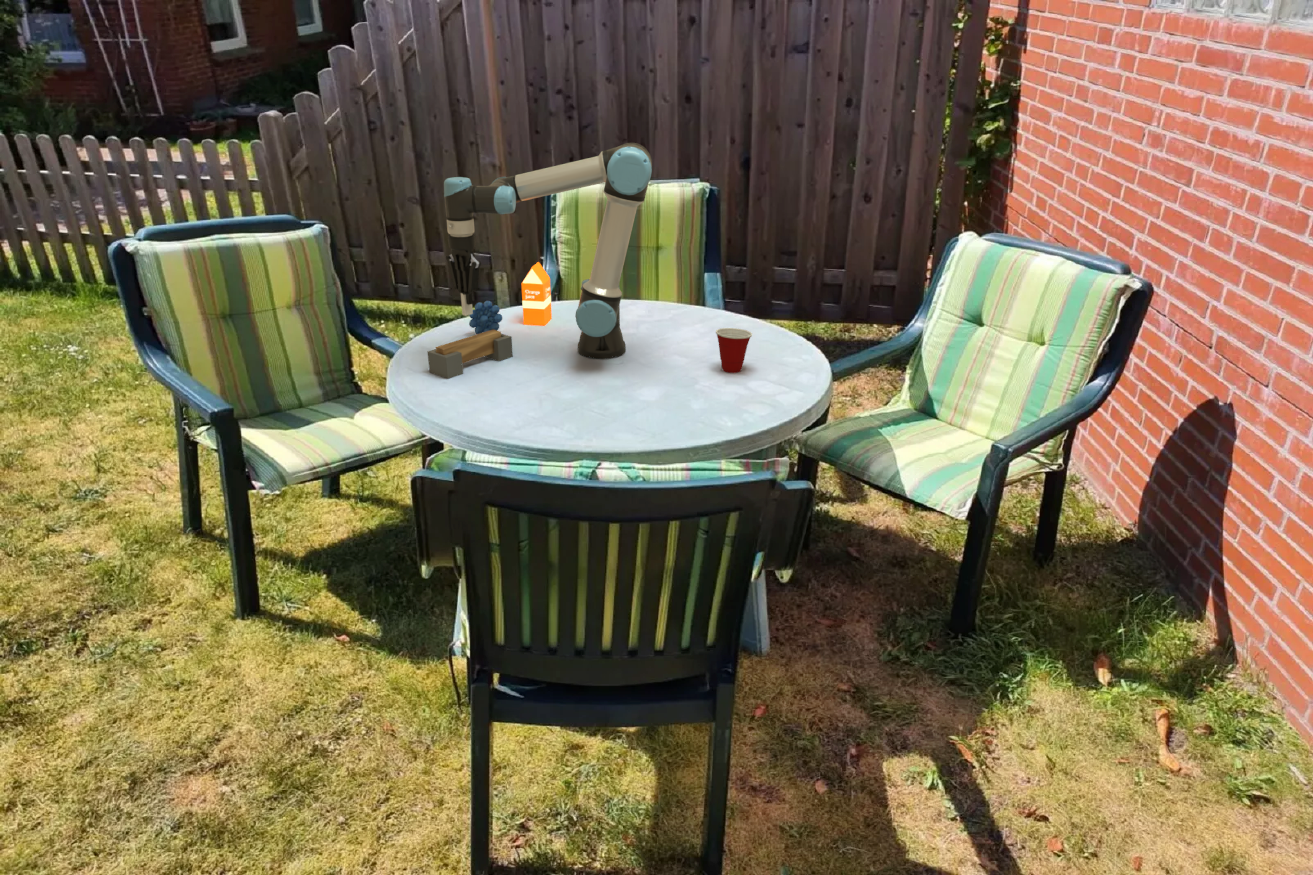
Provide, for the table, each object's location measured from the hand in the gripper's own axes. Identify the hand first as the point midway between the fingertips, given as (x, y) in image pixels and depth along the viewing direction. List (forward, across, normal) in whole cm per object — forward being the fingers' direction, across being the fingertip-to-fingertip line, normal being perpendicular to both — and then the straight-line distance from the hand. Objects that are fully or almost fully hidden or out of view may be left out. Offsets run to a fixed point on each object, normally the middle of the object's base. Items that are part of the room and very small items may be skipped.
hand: (467, 314), depth 265 cm
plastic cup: (+16, +63, +47) cm, 80 cm away
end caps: (+16, 0, 0) cm, 16 cm away
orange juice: (+16, -16, +43) cm, 49 cm away
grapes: (+16, -18, +22) cm, 33 cm away
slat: (+14, 0, 0) cm, 14 cm away
